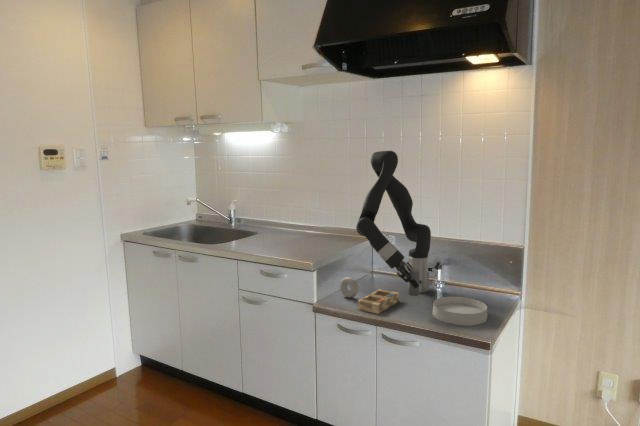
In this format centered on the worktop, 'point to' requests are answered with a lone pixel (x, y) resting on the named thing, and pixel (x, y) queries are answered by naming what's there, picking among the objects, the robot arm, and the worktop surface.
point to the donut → (353, 287)
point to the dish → (460, 310)
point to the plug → (416, 277)
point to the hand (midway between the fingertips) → (418, 285)
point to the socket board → (378, 301)
